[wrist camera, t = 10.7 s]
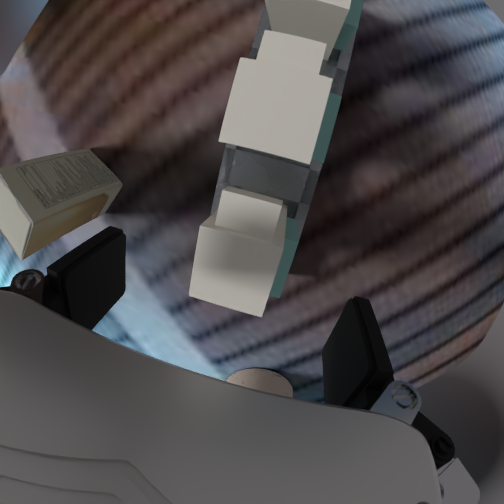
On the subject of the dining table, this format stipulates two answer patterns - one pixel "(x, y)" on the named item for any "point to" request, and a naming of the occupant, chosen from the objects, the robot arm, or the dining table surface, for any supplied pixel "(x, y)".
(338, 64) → the rail
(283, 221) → the finger loose
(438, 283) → the dining table surface
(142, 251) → the dining table surface
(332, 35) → the cream block teal side
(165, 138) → the dining table surface
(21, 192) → the skincare box
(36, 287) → the robot arm
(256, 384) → the teacup with lid
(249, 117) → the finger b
